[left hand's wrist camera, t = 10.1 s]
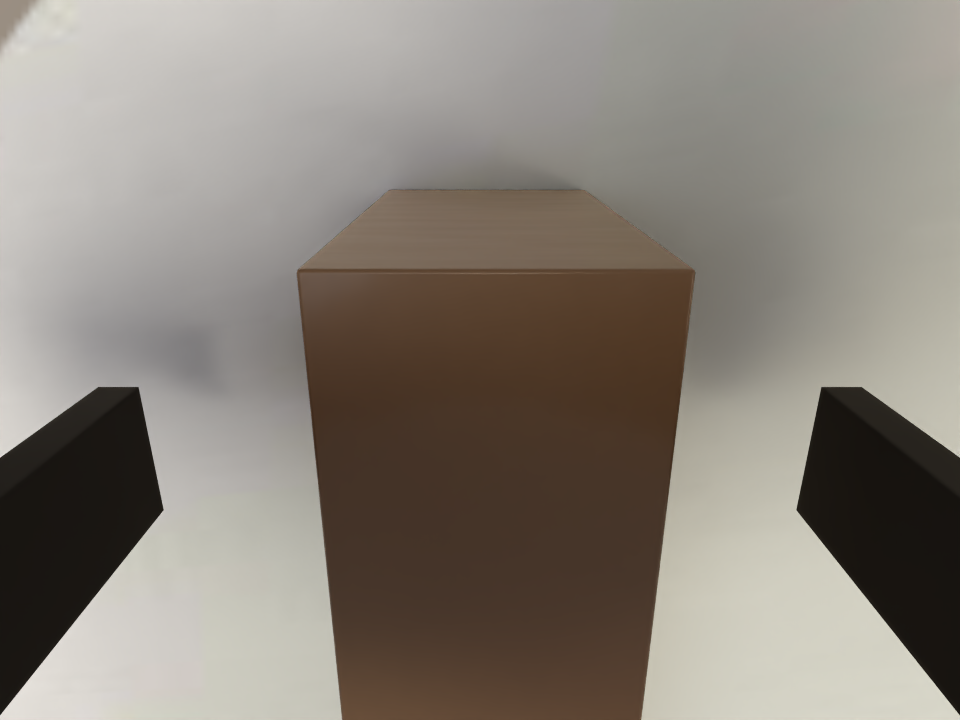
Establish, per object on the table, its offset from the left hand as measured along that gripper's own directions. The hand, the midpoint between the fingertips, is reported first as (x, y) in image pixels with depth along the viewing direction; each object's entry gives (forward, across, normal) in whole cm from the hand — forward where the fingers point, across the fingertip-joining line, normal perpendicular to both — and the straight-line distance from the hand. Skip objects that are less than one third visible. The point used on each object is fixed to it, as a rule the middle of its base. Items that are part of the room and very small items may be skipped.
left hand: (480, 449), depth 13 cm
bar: (+5, 0, -35) cm, 35 cm away
